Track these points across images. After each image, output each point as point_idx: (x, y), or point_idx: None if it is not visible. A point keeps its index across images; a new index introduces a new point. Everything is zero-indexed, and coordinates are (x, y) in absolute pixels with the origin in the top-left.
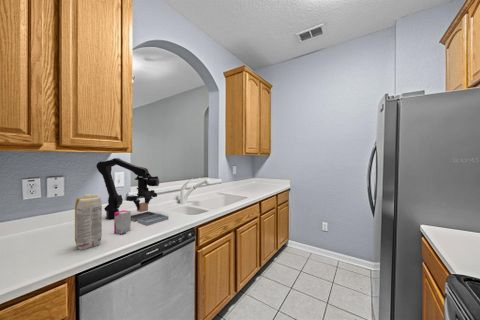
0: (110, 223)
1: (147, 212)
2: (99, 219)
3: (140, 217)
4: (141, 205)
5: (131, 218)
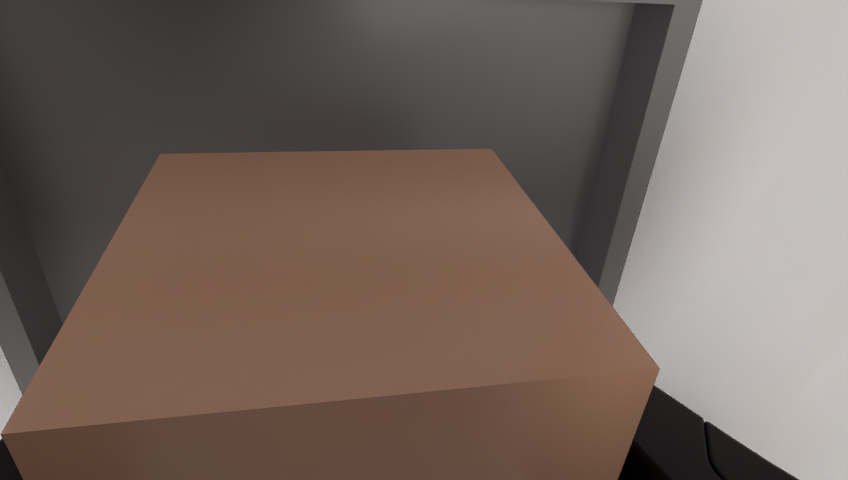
0: (809, 306)
1: None
2: None
3: None
4: (593, 328)
5: (645, 171)
